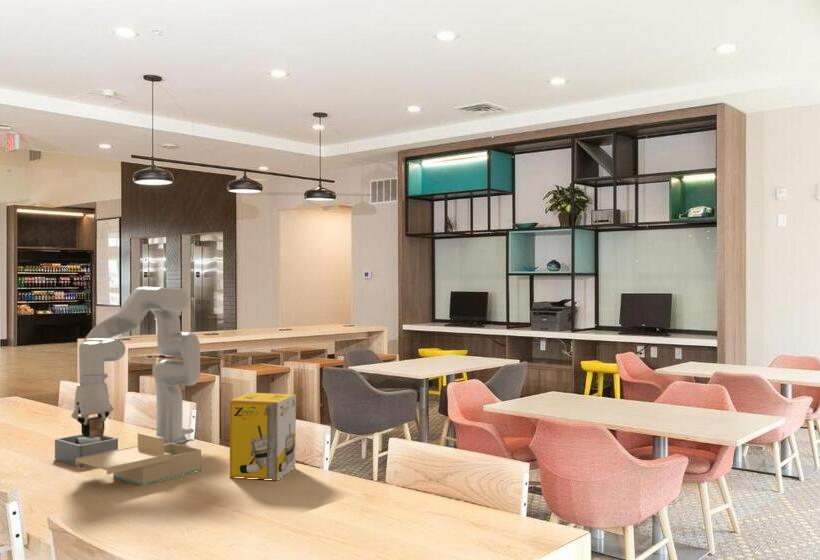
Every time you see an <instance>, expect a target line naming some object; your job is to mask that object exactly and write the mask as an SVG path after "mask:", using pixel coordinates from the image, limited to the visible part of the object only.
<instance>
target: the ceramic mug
mask: <svg viewBox="0 0 820 560" xmlns="http://www.w3.org/2000/svg"><path fill="white" fill-rule="evenodd" d="M100 441H102V440H101V438H99V437H96V438H91V439H90V438H87V437H77V438H76V441H75V444H78V445H84V444H89V443H95V442H100Z"/></svg>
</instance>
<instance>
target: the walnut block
mask: <svg viewBox="0 0 820 560" xmlns="http://www.w3.org/2000/svg"><path fill="white" fill-rule="evenodd" d="M88 424H89V437H87V438H90V439H91V438H96V437H100V436H103V435H104V433H103V418H102V417H98V416H97V415H95V416H89V418H88ZM83 437H86V436H83Z"/></svg>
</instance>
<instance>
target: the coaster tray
mask: <svg viewBox="0 0 820 560" xmlns="http://www.w3.org/2000/svg"><path fill="white" fill-rule="evenodd" d="M77 437H83V435H82V433H81V434H76V435H69V436H65V437H60V438H55V439H54V460H55V459H56V461H59V462H61V463H62V462H63V463H66V464H68V465H71V466H75V467H78V466H79V467H85V465H86V466H88V465H87V464H79V465H76V458H79V457H84V456H89V455H94V454H99V453H104V452H109V451H114V450H119V438H118V437H113V436H109V435H106V434H103V436H100V437H99V438H101V440H102V441H100V442H95V443H89V444H84V445H78V444H75V441H76V438H77Z"/></svg>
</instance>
